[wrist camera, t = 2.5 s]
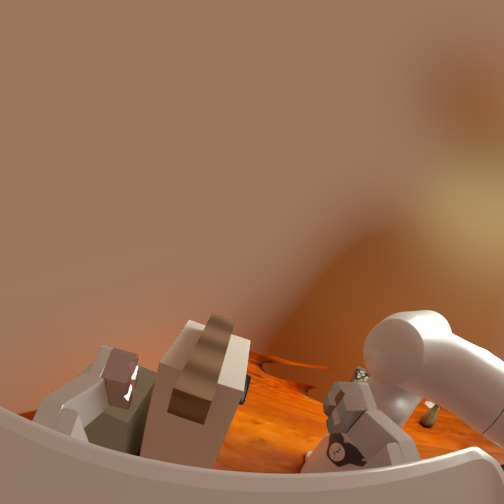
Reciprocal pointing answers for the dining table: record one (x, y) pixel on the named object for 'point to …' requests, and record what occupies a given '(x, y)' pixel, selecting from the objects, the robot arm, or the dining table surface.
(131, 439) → the sage base
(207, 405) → the walnut bar
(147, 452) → the white pedestal
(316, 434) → the dining table surface
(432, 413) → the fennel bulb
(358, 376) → the food container
